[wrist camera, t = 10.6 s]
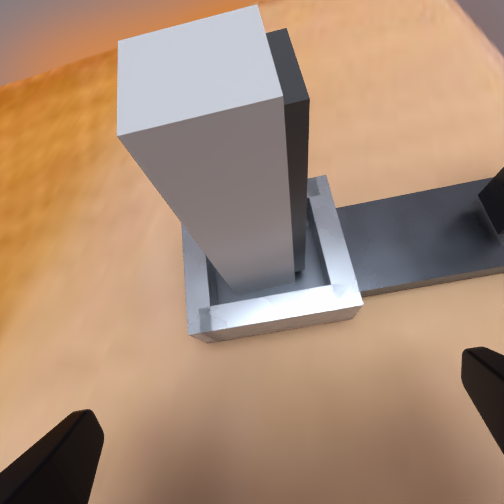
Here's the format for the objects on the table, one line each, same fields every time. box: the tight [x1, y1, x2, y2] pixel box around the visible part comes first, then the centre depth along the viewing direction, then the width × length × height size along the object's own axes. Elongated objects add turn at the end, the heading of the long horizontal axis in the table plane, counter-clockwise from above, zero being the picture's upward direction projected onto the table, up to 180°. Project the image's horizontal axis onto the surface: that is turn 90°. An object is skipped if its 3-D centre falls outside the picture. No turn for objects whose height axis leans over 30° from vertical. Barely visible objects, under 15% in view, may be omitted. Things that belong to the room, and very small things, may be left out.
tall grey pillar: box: [117, 5, 310, 295], centre depth 13 cm, size 3×4×12 cm
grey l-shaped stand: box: [181, 167, 504, 343], centre depth 13 cm, size 7×20×14 cm, turn 98°
